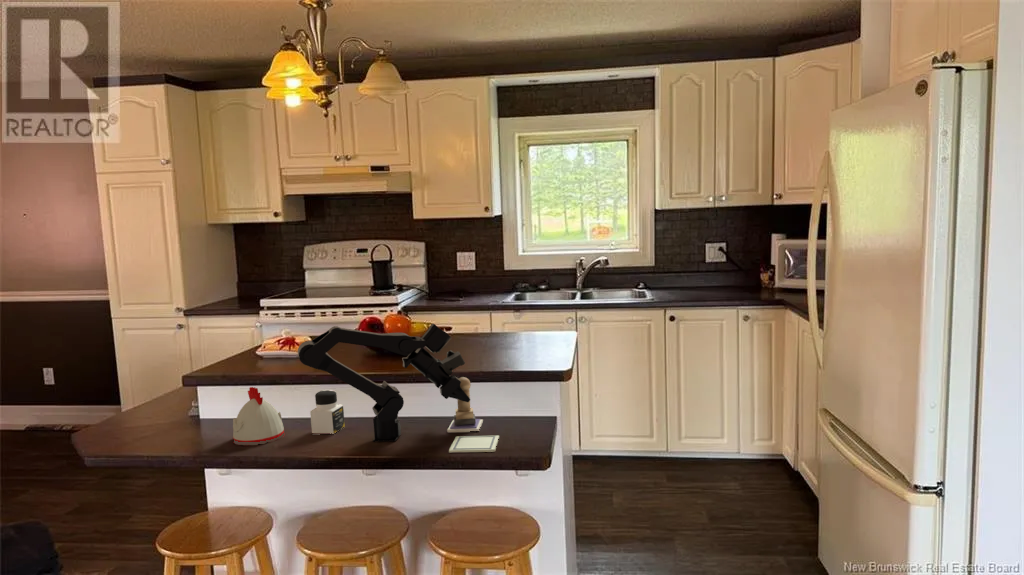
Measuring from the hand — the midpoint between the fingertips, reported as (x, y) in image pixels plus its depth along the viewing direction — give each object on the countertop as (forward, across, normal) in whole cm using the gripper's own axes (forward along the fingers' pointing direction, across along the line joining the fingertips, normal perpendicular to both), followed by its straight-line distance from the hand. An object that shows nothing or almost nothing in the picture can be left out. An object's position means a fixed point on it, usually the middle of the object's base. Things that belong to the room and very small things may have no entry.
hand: (468, 399), depth 188 cm
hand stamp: (+4, 0, +6) cm, 7 cm away
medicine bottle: (-22, +12, +35) cm, 43 cm away
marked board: (+5, -16, +7) cm, 18 cm away
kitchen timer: (-36, +13, +49) cm, 62 cm away
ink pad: (+5, 0, +7) cm, 8 cm away
